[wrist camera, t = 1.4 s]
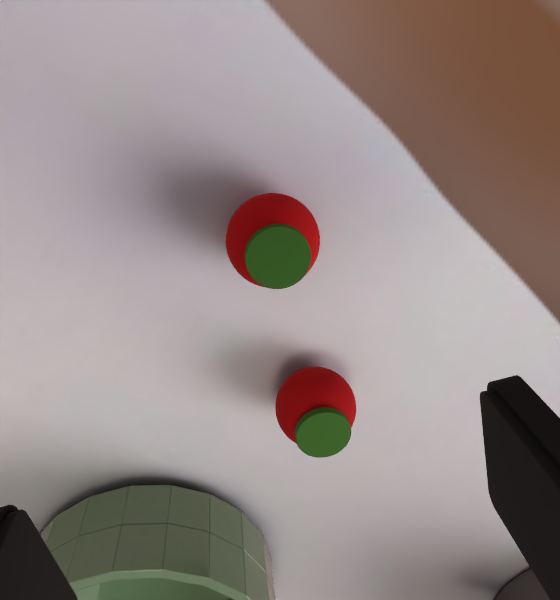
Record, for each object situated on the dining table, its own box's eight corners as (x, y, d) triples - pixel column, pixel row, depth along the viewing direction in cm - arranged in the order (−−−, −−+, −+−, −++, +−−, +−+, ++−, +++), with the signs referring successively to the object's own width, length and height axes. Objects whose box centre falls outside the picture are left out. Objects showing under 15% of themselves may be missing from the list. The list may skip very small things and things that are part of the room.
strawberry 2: (310, 427, 30) (325, 482, 26) (256, 390, 28) (262, 443, 24) (361, 378, 29) (383, 428, 25) (307, 338, 27) (322, 384, 23)
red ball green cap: (238, 277, 25) (242, 316, 22) (214, 196, 24) (214, 223, 20) (319, 255, 25) (337, 290, 22) (301, 174, 24) (317, 196, 20)
